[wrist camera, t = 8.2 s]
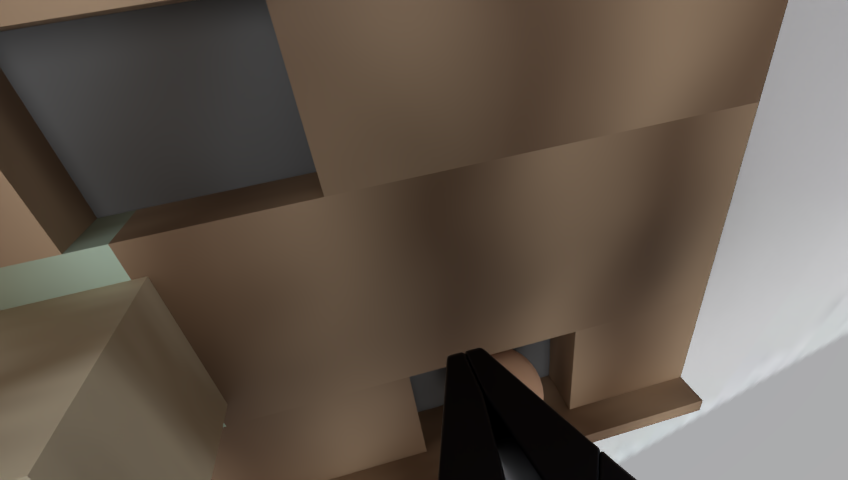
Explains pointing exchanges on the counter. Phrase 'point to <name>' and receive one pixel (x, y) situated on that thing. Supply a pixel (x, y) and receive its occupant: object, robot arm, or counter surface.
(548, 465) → the robot arm
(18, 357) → the maple block
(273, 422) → the trap box
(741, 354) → the counter surface
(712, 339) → the counter surface
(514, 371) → the ball
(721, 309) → the counter surface
